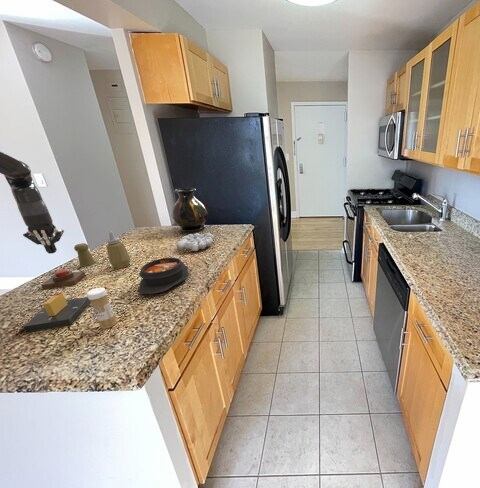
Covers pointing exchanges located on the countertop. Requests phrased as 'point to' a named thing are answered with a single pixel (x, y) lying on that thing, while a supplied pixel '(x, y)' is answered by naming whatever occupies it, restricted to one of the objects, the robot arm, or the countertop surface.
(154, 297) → the countertop surface
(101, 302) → the sprinkles bottle
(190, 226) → the dark glazed vase
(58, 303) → the yellow cheese wedge
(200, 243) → the grey lumpy cluster
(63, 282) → the button block
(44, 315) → the dark slate board
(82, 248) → the green pepper mill
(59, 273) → the button
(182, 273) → the casserole
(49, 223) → the robot arm
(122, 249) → the squeeze bottle
